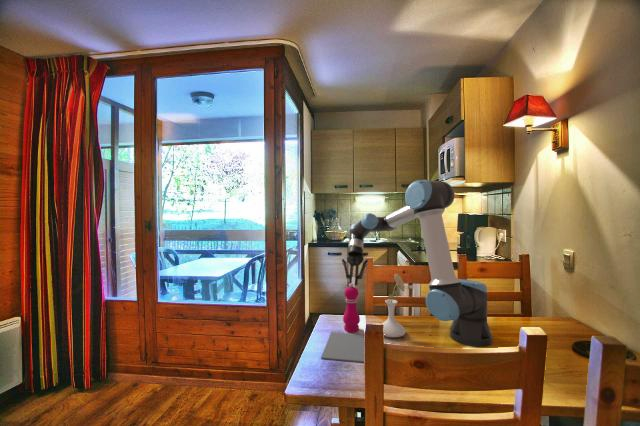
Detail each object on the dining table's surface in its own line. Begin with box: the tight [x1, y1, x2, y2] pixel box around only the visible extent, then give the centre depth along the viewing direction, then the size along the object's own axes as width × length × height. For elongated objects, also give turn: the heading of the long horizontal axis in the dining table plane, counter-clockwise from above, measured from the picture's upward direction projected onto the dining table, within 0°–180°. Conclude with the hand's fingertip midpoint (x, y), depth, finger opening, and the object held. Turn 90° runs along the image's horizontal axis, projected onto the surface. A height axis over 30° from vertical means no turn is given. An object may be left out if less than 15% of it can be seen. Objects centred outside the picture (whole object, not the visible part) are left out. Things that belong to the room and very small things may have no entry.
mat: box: [320, 331, 365, 364], centre depth 114 cm, size 22×16×1 cm
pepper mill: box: [342, 283, 361, 333], centre depth 131 cm, size 7×7×20 cm
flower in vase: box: [381, 273, 407, 338], centre depth 126 cm, size 13×11×25 cm
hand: (352, 291), depth 138 cm, fingers closed
